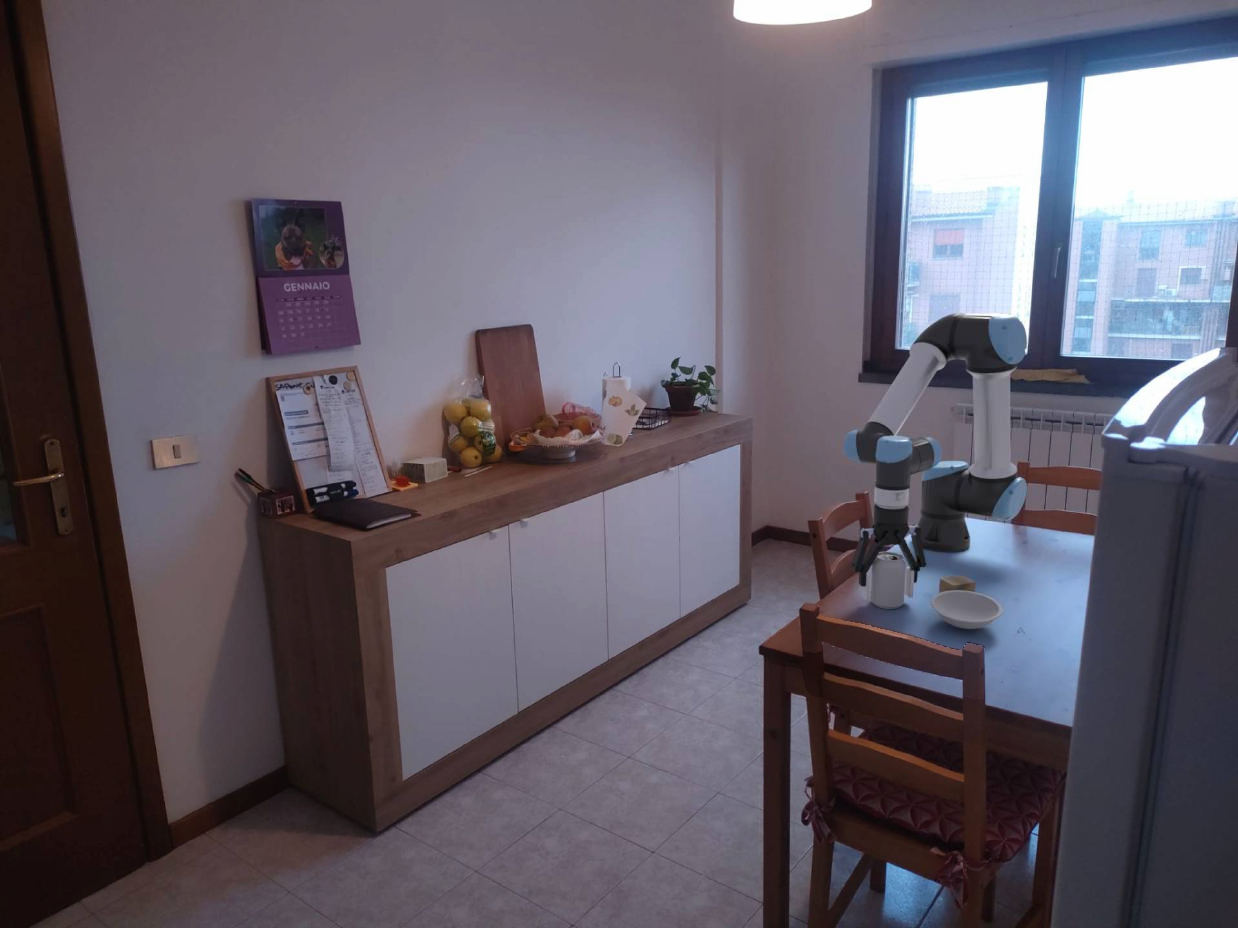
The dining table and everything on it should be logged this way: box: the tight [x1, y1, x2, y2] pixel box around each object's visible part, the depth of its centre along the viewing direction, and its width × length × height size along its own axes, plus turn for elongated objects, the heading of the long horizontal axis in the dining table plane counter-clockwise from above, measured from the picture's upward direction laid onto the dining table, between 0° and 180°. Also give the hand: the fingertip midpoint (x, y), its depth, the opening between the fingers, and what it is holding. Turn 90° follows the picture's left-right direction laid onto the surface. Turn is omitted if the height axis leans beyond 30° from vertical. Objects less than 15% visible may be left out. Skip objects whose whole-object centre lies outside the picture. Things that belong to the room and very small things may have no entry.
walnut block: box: [938, 574, 976, 593], centre depth 203 cm, size 6×5×4 cm
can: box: [870, 551, 907, 610], centre depth 198 cm, size 8×8×12 cm
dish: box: [930, 590, 1003, 630], centre depth 186 cm, size 18×14×5 cm
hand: (887, 597), depth 199 cm, fingers open, 10 cm apart
